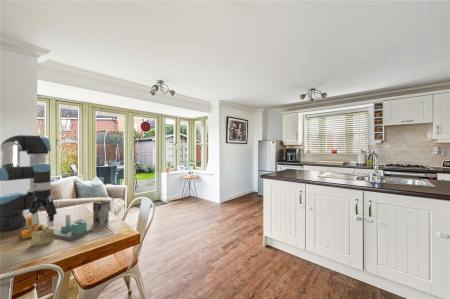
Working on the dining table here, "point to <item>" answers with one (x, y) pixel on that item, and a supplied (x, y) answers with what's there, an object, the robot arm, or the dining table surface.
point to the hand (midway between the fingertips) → (42, 225)
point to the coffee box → (100, 213)
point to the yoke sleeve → (42, 235)
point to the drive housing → (72, 229)
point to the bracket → (28, 232)
